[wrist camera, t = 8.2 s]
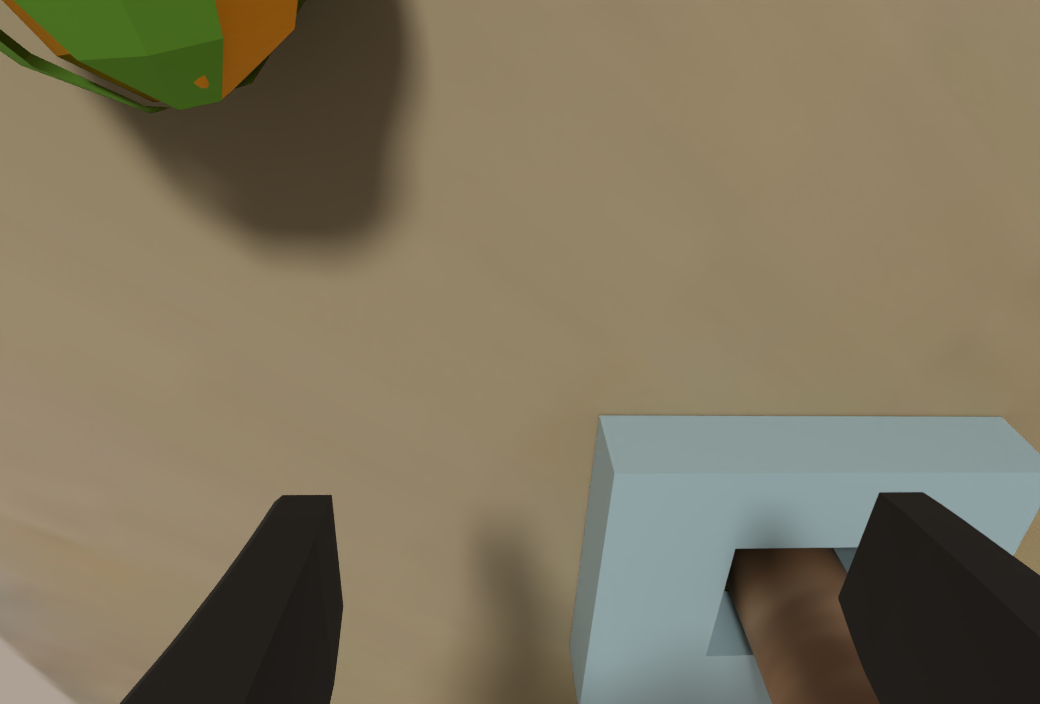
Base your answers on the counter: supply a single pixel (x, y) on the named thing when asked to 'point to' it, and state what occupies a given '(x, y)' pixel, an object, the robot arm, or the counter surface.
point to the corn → (156, 44)
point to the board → (753, 529)
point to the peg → (798, 625)
